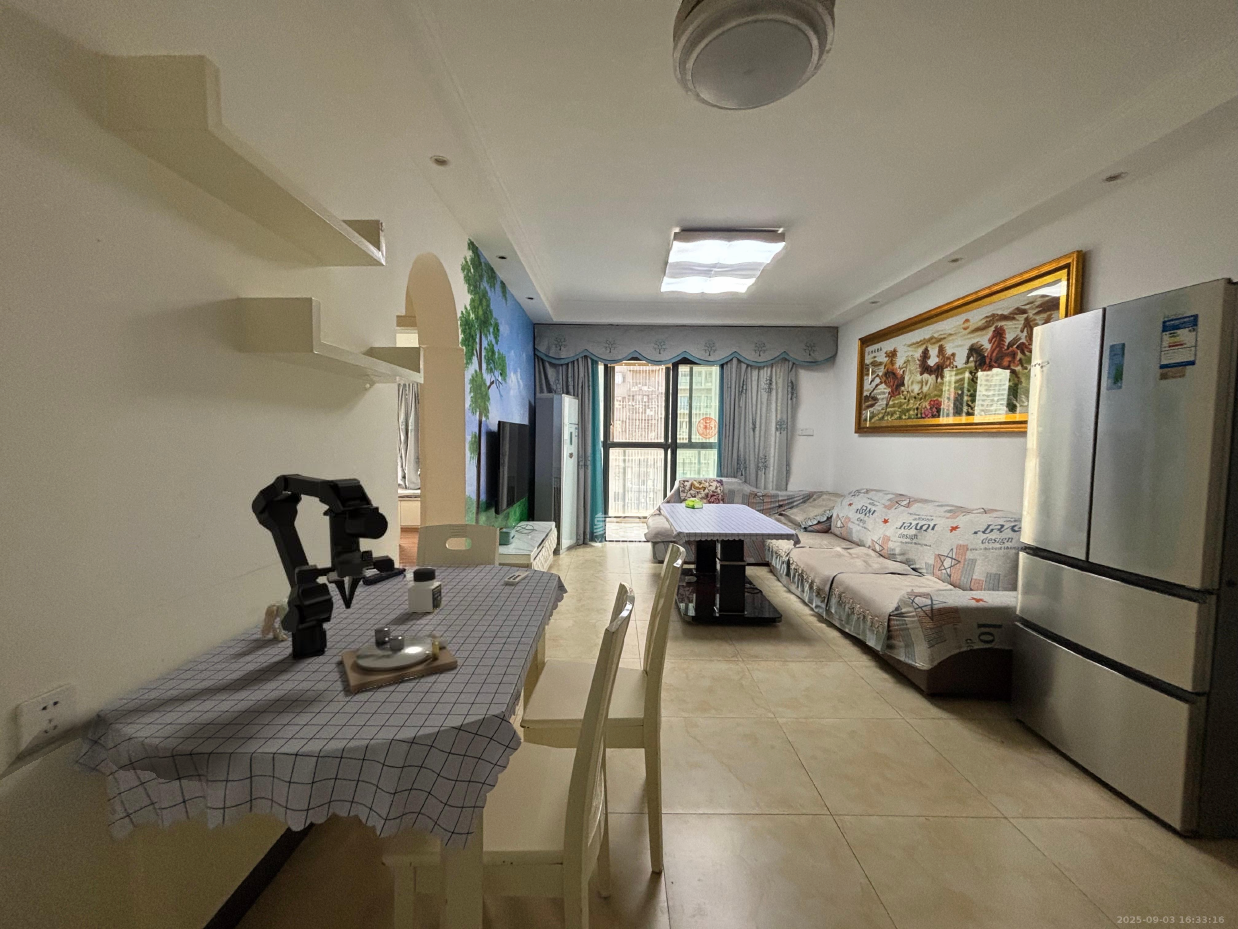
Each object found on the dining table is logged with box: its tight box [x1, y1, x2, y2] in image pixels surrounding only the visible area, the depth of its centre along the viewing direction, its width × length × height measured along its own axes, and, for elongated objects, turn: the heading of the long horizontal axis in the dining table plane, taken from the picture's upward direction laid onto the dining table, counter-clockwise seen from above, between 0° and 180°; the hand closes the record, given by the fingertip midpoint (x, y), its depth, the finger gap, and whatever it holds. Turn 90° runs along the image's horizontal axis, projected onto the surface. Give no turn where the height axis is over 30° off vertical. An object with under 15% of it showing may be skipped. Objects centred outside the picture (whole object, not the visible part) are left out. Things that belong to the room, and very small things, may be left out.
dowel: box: [432, 642, 439, 660], centre depth 111 cm, size 1×1×4 cm
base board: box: [340, 633, 459, 694], centre depth 114 cm, size 20×20×2 cm
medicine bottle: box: [407, 566, 443, 613], centre depth 152 cm, size 7×7×12 cm
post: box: [389, 634, 406, 651], centre depth 113 cm, size 3×3×2 cm
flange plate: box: [356, 625, 449, 671], centre depth 114 cm, size 18×16×4 cm
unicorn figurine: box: [260, 595, 289, 642], centre depth 135 cm, size 7×20×13 cm, turn 12°
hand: (347, 608), depth 114 cm, fingers closed
